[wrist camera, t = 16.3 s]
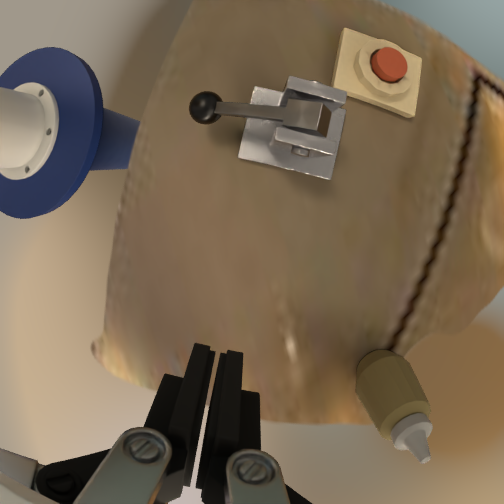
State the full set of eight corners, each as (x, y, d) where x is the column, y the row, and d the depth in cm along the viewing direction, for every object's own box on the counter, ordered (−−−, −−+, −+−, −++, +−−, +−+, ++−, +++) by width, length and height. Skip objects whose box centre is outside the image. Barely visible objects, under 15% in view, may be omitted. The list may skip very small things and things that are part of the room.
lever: (200, 126, 29) (178, 119, 26) (207, 96, 28) (186, 87, 25) (326, 145, 23) (313, 136, 20) (334, 108, 22) (322, 94, 19)
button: (368, 74, 27) (374, 70, 25) (373, 47, 26) (378, 42, 24) (398, 86, 27) (405, 83, 25) (402, 59, 26) (409, 54, 24)
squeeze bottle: (411, 352, 39) (472, 436, 21) (378, 393, 40) (420, 484, 23) (372, 333, 38) (431, 428, 20) (337, 378, 39) (372, 480, 22)
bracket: (238, 158, 32) (229, 151, 21) (254, 88, 30) (254, 49, 19) (328, 179, 33) (365, 185, 21) (343, 111, 31) (385, 86, 19)
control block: (329, 90, 30) (337, 82, 27) (340, 32, 28) (348, 20, 25) (408, 118, 31) (422, 114, 27) (415, 62, 29) (429, 54, 25)
